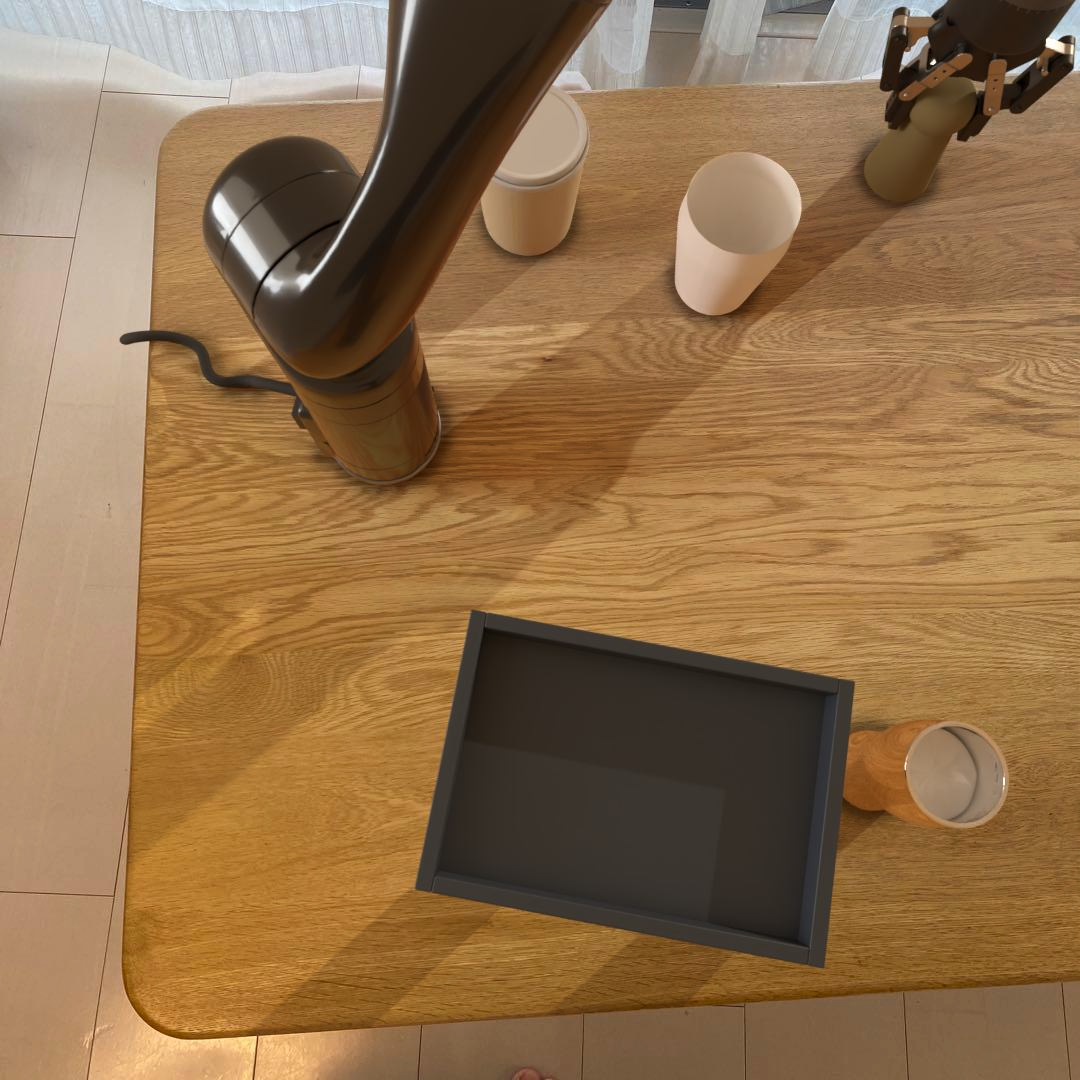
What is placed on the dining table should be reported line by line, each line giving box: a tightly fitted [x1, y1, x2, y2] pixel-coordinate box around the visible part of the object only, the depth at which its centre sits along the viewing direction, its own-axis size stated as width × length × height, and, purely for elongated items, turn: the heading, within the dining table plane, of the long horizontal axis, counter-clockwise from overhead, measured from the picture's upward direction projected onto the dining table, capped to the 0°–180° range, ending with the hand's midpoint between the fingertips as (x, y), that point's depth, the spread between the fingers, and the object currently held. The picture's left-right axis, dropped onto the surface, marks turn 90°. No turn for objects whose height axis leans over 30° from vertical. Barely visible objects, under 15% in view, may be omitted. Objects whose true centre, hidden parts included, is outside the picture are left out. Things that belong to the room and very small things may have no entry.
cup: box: [674, 151, 803, 316], centre depth 76 cm, size 9×9×12 cm
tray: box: [414, 609, 856, 969], centre depth 59 cm, size 20×14×28 cm
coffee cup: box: [479, 84, 591, 257], centre depth 77 cm, size 9×9×12 cm
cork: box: [863, 77, 978, 203], centre depth 79 cm, size 6×6×11 cm
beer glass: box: [843, 718, 1010, 830], centre depth 65 cm, size 7×7×15 cm
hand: (927, 125), depth 78 cm, fingers closed on cork, 5 cm apart
